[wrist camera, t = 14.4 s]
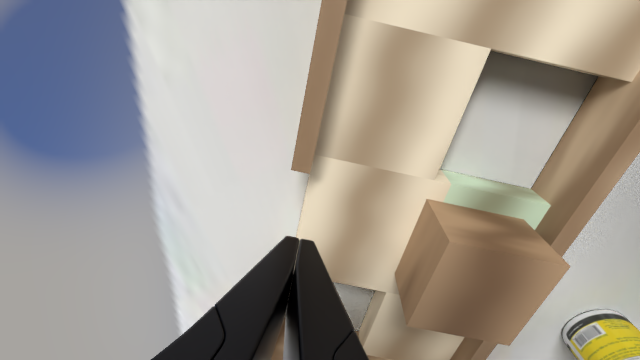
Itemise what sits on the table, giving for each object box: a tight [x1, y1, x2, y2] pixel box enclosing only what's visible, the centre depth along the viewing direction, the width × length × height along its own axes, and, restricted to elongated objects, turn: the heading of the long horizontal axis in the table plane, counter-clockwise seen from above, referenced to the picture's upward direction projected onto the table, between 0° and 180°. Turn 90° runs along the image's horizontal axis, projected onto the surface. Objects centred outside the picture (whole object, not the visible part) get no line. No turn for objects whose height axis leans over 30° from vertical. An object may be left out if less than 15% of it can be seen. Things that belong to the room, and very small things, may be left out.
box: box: [271, 0, 640, 360], centre depth 18 cm, size 16×29×4 cm, turn 168°
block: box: [395, 199, 570, 345], centre depth 17 cm, size 6×6×4 cm
